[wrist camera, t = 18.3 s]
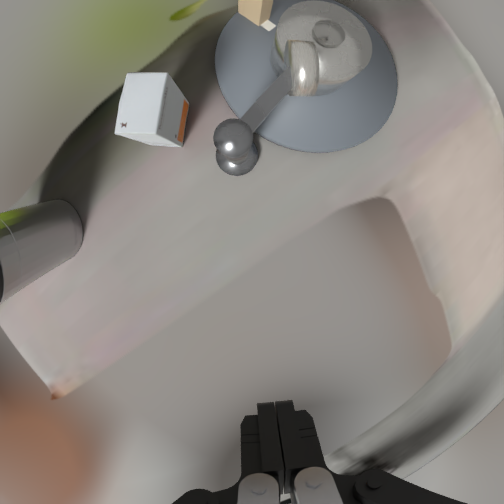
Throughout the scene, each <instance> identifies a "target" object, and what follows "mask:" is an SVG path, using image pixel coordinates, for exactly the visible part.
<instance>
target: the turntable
mask: <svg viewBox="0 0 504 504" xmlns="http://www.w3.org/2000/svg"><path fill="white" fill-rule="evenodd" d="M303 1H311V0H238V12H237V13H236V14H235V15H234V16H233V17H232V18H231V19H230V20H229V21H228V22H227V24H226V25H225V27H224V29H223V30H222V32H221V34H220V37H219V39H218V42H217V46H216V51H215V70H216V75H217V79H218V83H219V87H220V89H221V92H222V94H223V96H224V98H225V100H226V102H227V103H228V105H229V107H230V108H231V109H232V111H233V112H234V113H235V115H236V116H237V117H238V118H239V119H241V117H242V116H243V115H244V114H245V113H246V112H247V111H248V109H249V108H250V107H251V106H252V105H253V104H254V103H255V102H256V101H257V99H258V98H259V97H260V96H261V95H262V94H263V93H264V92H265V91H266V90H267V89H268V88H269V86H270V85H271V84H272V83H273V82H274V81H275V80H276V79H277V78H278V77H277V75H276V74H275V72H274V70H273V68H272V65H271V61H270V52H271V48H272V44H273V41H274V37H275V33H276V30H277V26H278V22H279V20H280V17H281V16H282V14H283V13H284V12H285V11H286V10H287V9H288V8H289V7H291V6H292V5H294V4H297V3H300V2H303ZM316 1H325V2H329V3H333V4H335V5H338V6H340V7H342V8H344V9H346V10H347V11H349V12H350V13H352V14H353V15H354V16H355V17H357V18H358V19H359V20H360V22H361V23H362V24H363V25H364V27H365V28H366V30H367V31H368V33H369V36H370V38H371V42H372V56H371V59H370V61H369V63H368V65H367V66H366V67H365V68H364V69H363V70H362V71H361V72H359V73H358V74H357V75H355V76H354V77H353V78H351V79H350V80H349V81H348V82H346V83H345V84H344V85H343V86H341V87H340V88H339V89H337V90H336V91H334V92H332V93H330V94H327V95H321V96H313V97H301V96H289V95H288V94H287V95H286V97H285V98H284V99H283V100H282V101H281V102H280V103H279V104H278V105H277V106H276V108H275V109H274V110H273V111H272V112H271V113H270V114H269V115H268V117H267V118H266V119H265V120H264V121H263V122H262V123H261V124H260V126H259V127H258V128H257V129H256V130H255V131H254V132H255V133H257V134H258V135H260V136H261V137H263V138H265V139H266V140H268V141H271V142H273V143H275V144H277V145H279V146H283V147H286V148H289V149H292V150H297V151H302V152H311V153H326V152H333V151H339V150H344V149H347V148H350V147H354V146H356V145H358V144H360V143H363V142H364V141H366V140H367V139H369V138H371V137H372V136H373V135H374V134H376V133H377V132H378V131H379V130H380V129H381V128H382V126H383V125H384V124H385V123H386V121H387V120H388V118H389V116H390V115H391V113H392V110H393V107H394V105H395V101H396V96H397V85H398V84H397V73H396V68H395V64H394V61H393V58H392V55H391V53H390V51H389V49H388V47H387V45H386V44H385V42H384V41H383V39H382V37H381V36H380V35H379V34H378V32H377V31H376V30H375V29H374V28H373V27H372V26H371V25H370V24H369V23H368V22H367V21H366V20H365V19H364V18H363V17H361V16H360V15H359V14H358V13H356V12H355V11H353V10H352V9H350V8H348V7H347V6H345V5H343V4H341V3H339V2H336V1H334V0H316Z"/></svg>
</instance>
